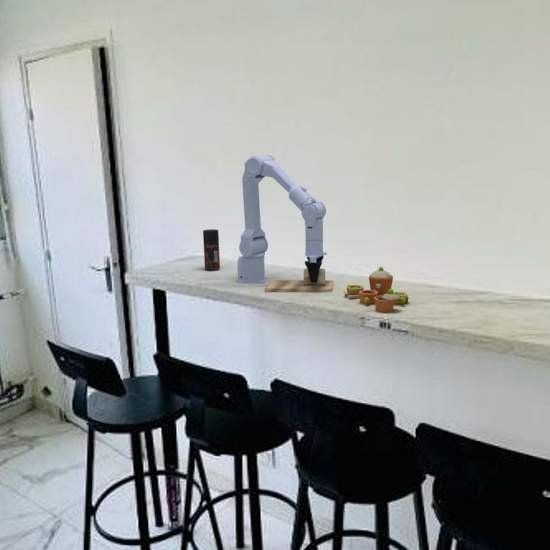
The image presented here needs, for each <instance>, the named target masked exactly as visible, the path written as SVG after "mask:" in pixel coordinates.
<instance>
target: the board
mask: <svg viewBox="0 0 550 550" xmlns="http://www.w3.org/2000/svg"><path fill="white" fill-rule="evenodd" d="M333 288H334V280H327V279H325V286H304V279H299V280H298V279H296V280H294V279H293V280H292V279H289V280H288V279H287V280H286V279H281V280H280V279H269V280H268V282H267V284H266V285H265V287H264V293H333Z"/></svg>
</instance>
